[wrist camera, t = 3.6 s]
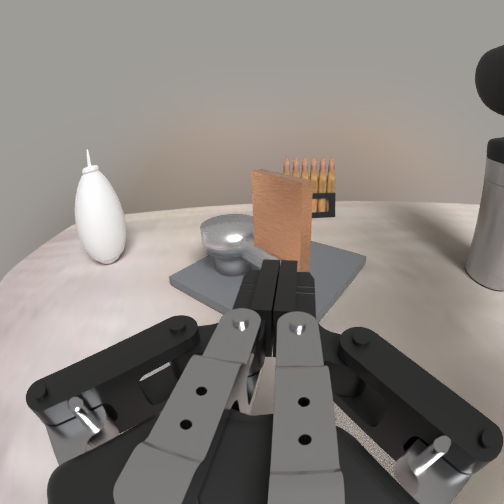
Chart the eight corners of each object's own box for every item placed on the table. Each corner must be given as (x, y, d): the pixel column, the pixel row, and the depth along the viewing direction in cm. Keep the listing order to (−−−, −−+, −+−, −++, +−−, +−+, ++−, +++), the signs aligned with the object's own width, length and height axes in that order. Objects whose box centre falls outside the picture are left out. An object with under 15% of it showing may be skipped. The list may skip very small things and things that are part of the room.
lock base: (262, 234, 47) (261, 211, 45) (365, 264, 37) (368, 237, 35) (170, 284, 34) (164, 256, 32) (293, 349, 24) (296, 316, 22)
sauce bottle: (141, 257, 41) (121, 141, 33) (100, 279, 36) (71, 153, 28) (118, 246, 45) (99, 145, 37) (81, 264, 40) (56, 157, 32)
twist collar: (193, 243, 35) (184, 166, 30) (239, 229, 38) (235, 158, 34) (273, 303, 23) (272, 188, 19) (328, 274, 27) (335, 176, 22)
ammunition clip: (283, 219, 53) (282, 157, 48) (281, 216, 55) (280, 156, 50) (335, 217, 54) (337, 157, 49) (332, 214, 56) (334, 156, 50)
